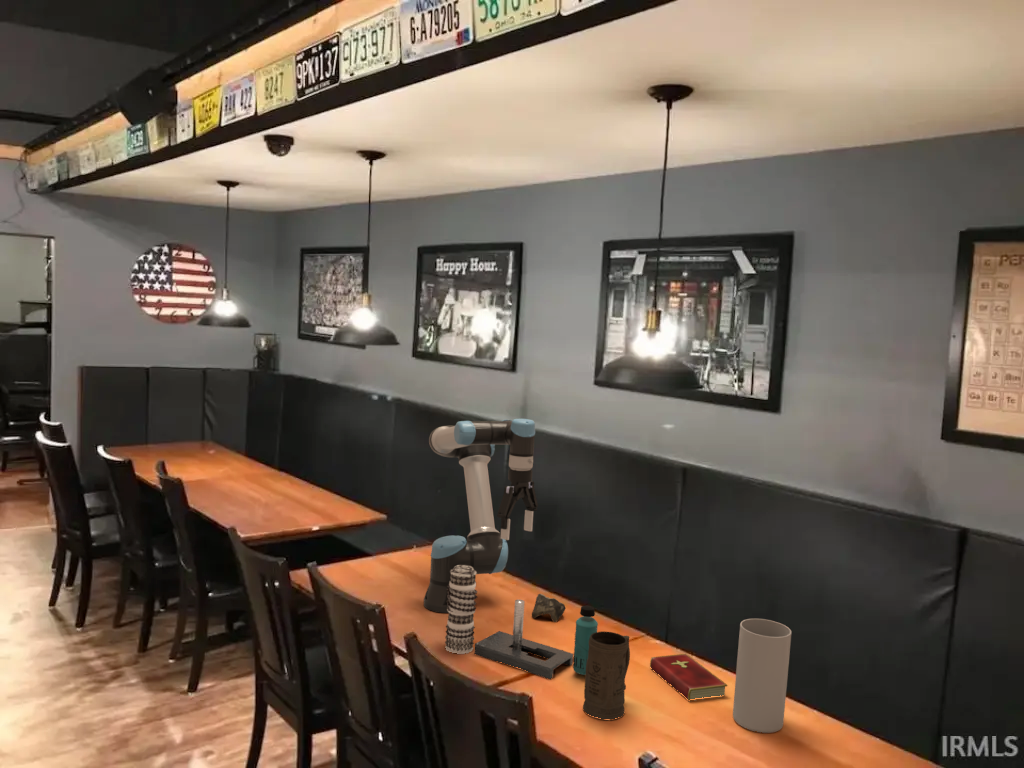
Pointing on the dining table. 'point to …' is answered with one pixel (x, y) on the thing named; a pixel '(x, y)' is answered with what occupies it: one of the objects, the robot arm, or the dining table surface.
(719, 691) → the hardcover book
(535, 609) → the fossil
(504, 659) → the keyhole plate
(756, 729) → the cylinder vase
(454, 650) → the decorative candle
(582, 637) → the beverage bottle
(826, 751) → the dining table surface
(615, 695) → the beer stein
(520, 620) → the steel peg
